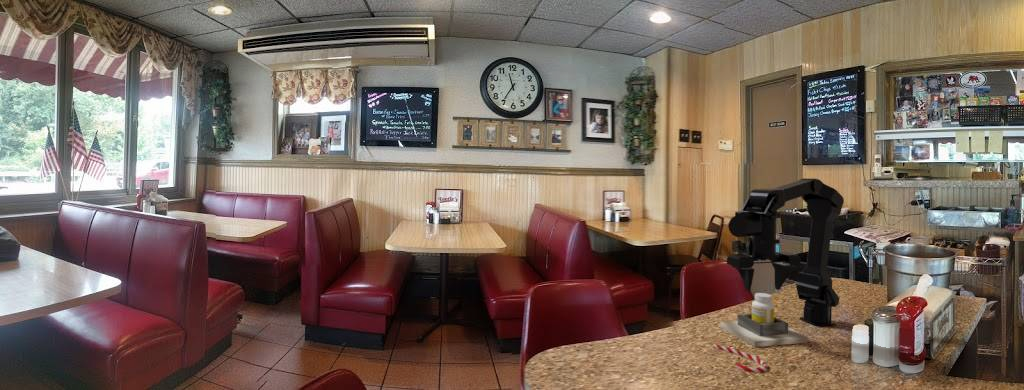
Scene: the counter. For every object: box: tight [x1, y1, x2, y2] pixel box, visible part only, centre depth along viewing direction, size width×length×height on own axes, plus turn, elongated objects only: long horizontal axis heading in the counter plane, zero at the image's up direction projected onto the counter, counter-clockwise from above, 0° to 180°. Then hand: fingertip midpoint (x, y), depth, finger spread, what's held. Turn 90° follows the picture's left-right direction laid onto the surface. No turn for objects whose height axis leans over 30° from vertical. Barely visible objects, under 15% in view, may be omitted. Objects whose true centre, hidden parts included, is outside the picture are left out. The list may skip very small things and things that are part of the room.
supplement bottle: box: [751, 292, 775, 324], centre depth 117 cm, size 5×5×10 cm
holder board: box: [719, 313, 809, 348], centre depth 117 cm, size 16×14×4 cm
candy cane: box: [712, 343, 769, 374], centre depth 103 cm, size 8×1×15 cm
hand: (762, 290), depth 116 cm, fingers open, 9 cm apart
